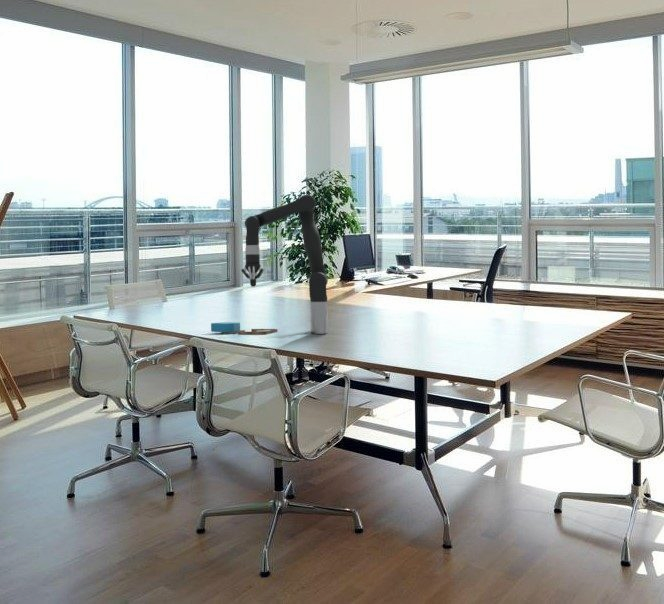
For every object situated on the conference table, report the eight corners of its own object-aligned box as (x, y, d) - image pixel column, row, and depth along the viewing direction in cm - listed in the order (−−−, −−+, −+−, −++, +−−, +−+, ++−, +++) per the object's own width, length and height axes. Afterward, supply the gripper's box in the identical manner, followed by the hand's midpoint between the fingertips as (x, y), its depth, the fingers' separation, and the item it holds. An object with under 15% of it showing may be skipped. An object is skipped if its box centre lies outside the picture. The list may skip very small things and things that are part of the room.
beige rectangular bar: (275, 334, 397) (275, 330, 397) (257, 334, 392) (257, 330, 392) (273, 333, 399) (273, 329, 399) (255, 334, 395) (255, 330, 395)
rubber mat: (245, 332, 401) (245, 330, 401) (235, 334, 388) (235, 332, 388) (231, 331, 403) (231, 330, 403) (221, 334, 390) (221, 332, 390)
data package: (227, 321, 403) (241, 322, 395) (227, 330, 403) (241, 331, 395) (209, 323, 394) (223, 323, 386) (209, 331, 395) (224, 332, 387)
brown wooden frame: (278, 331, 400) (277, 328, 400) (265, 334, 380) (265, 331, 380) (252, 331, 403) (252, 328, 403) (238, 334, 384) (238, 331, 384)
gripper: (266, 253, 393) (267, 286, 394) (243, 254, 396) (244, 286, 397) (261, 253, 386) (262, 286, 386) (238, 254, 389) (239, 286, 390)
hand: (253, 286), depth 392 cm, fingers closed
